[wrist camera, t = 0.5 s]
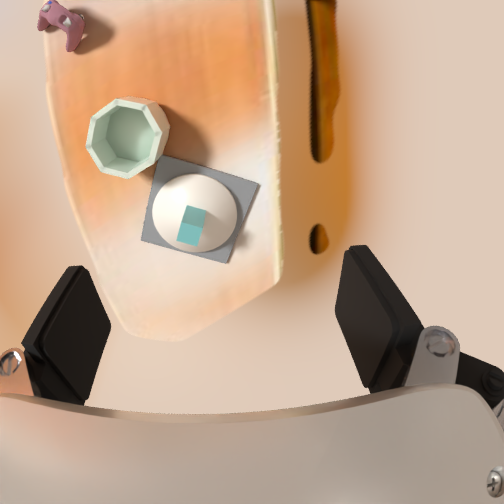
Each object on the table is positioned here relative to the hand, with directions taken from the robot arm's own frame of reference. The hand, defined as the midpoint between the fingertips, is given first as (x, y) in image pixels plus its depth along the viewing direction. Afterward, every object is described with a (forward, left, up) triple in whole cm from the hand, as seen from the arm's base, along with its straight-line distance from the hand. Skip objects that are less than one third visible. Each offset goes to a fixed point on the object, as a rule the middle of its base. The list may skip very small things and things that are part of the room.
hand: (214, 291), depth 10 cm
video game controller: (-11, -30, -33) cm, 46 cm away
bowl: (+4, -13, -33) cm, 35 cm away
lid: (+14, -1, -32) cm, 35 cm away
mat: (+14, -1, -33) cm, 36 cm away
